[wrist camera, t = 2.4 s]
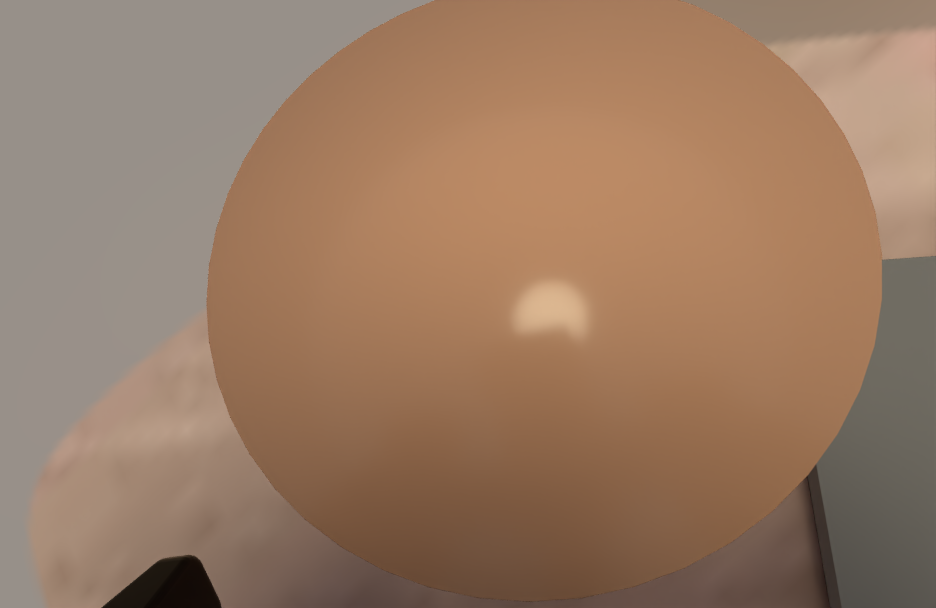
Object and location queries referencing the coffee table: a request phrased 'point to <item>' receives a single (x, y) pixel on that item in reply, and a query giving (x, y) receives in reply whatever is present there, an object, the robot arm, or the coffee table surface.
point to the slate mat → (886, 459)
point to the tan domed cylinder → (544, 293)
